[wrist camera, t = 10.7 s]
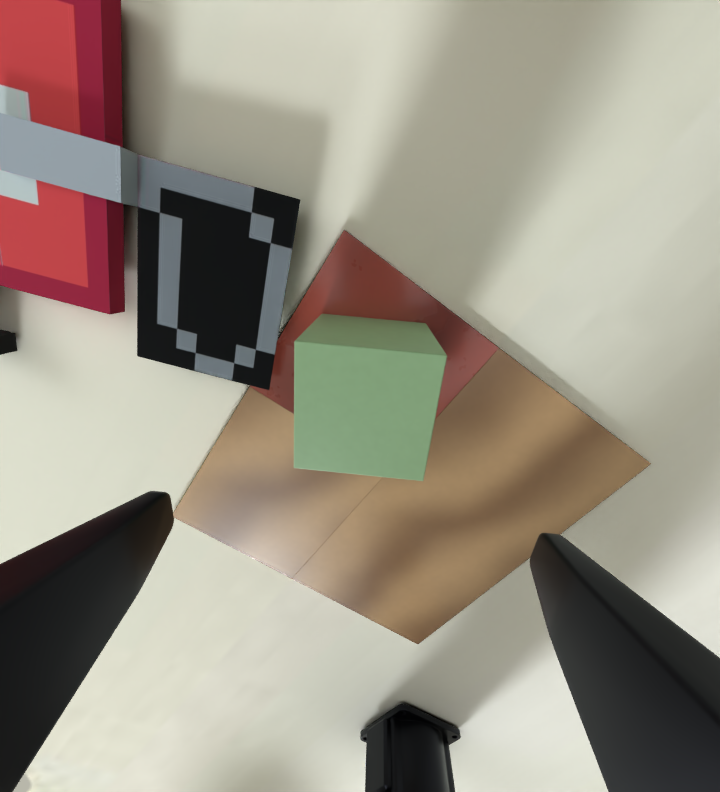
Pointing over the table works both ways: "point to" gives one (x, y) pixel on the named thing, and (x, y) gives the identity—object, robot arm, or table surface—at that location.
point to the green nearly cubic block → (366, 396)
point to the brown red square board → (400, 498)
